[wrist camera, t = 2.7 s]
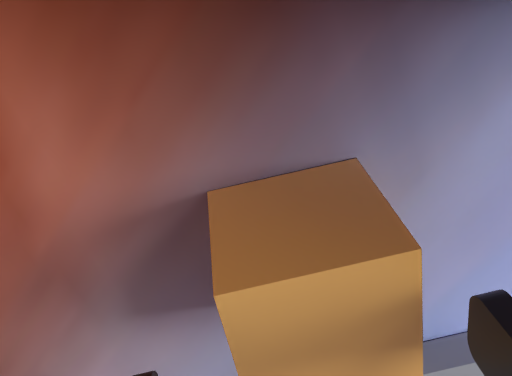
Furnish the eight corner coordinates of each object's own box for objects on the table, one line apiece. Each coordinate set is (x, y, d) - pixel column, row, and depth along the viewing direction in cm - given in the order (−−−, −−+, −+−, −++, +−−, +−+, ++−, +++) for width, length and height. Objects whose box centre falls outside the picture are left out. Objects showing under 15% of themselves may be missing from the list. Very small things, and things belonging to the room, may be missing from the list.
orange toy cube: (356, 158, 15) (421, 248, 11) (366, 273, 18) (423, 385, 13) (207, 191, 15) (213, 295, 11) (238, 303, 18) (253, 424, 13)
